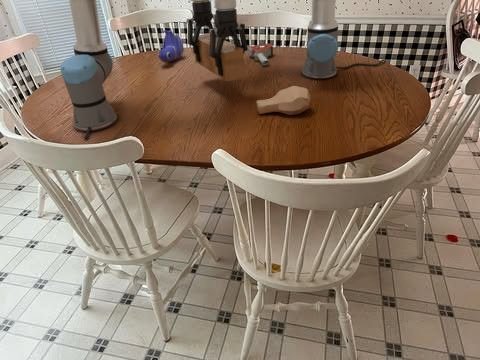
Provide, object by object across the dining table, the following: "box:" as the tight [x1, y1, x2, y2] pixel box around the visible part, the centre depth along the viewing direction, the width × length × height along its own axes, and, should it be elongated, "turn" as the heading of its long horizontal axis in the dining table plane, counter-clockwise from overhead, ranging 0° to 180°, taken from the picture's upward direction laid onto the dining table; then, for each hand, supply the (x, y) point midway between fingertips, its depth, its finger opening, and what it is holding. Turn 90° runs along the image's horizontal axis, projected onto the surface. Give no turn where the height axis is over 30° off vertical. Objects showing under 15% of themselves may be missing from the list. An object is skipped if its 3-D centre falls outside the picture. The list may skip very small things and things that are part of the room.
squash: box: [255, 85, 312, 116], centre depth 130 cm, size 11×20×9 cm, turn 92°
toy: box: [157, 30, 185, 67], centre depth 184 cm, size 10×17×25 cm
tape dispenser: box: [247, 43, 274, 67], centre depth 182 cm, size 18×5×20 cm
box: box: [194, 32, 245, 82], centre depth 144 cm, size 30×8×11 cm, turn 29°
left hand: (230, 72), depth 138 cm, fingers closed on box, 8 cm apart
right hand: (207, 59), depth 154 cm, fingers closed on box, 8 cm apart
